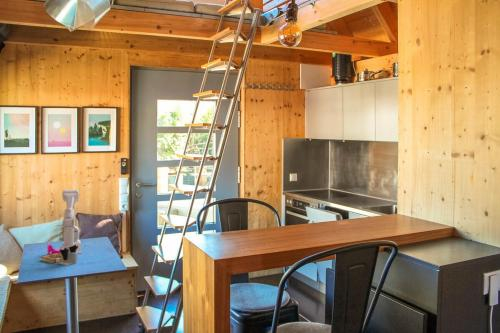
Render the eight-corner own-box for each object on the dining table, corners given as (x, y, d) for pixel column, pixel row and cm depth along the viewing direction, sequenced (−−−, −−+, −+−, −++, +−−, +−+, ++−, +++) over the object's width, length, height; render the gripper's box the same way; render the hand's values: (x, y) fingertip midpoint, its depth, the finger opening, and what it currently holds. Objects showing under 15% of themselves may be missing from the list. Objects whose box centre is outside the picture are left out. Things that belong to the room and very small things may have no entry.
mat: (71, 260, 284) (71, 260, 284) (79, 262, 280) (79, 261, 280) (58, 263, 277) (58, 262, 277) (66, 265, 273) (66, 264, 273)
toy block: (70, 252, 310) (69, 241, 310) (72, 253, 305) (72, 243, 305) (46, 254, 302) (46, 243, 302) (48, 256, 297) (48, 245, 297)
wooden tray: (59, 256, 295) (59, 252, 295) (72, 259, 287) (72, 255, 287) (41, 260, 284) (41, 256, 284) (54, 263, 276) (54, 259, 276)
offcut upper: (61, 254, 291) (61, 252, 291) (68, 256, 287) (68, 253, 287) (58, 255, 289) (58, 253, 289) (65, 256, 285) (65, 254, 285)
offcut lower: (59, 256, 292) (59, 254, 292) (69, 258, 287) (69, 256, 287) (56, 257, 290) (56, 255, 290) (65, 259, 285) (65, 257, 285)
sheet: (62, 261, 280) (62, 252, 280) (77, 262, 278) (77, 252, 278) (61, 262, 279) (61, 252, 279) (75, 263, 277) (75, 253, 277)
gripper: (70, 234, 286) (70, 255, 286) (55, 239, 272) (56, 261, 272) (79, 235, 285) (80, 256, 285) (66, 239, 270) (66, 261, 271)
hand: (69, 258), depth 278 cm, fingers open, 7 cm apart
